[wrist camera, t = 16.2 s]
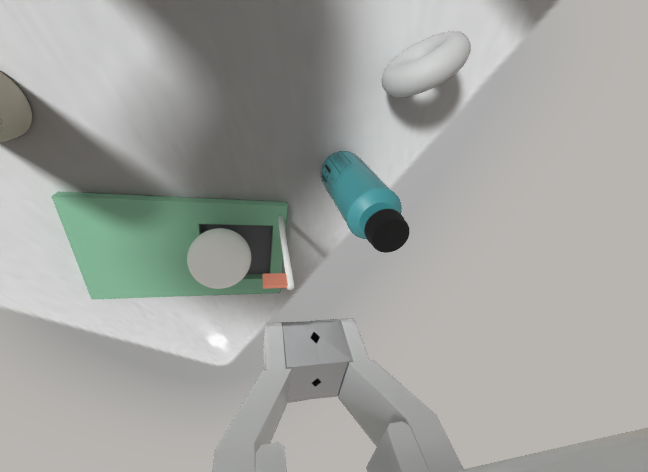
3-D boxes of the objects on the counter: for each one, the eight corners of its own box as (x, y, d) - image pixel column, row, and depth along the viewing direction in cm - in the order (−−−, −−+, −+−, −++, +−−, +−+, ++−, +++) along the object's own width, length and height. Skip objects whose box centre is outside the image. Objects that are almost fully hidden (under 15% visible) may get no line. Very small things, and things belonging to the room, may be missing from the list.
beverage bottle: (315, 150, 41) (356, 214, 24) (359, 143, 41) (427, 201, 25) (320, 190, 44) (358, 271, 28) (360, 183, 45) (420, 257, 29)
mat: (96, 292, 46) (23, 401, 32) (58, 191, 37) (-69, 279, 22) (279, 287, 53) (288, 372, 39) (286, 202, 44) (301, 273, 30)
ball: (213, 301, 36) (184, 294, 42) (268, 279, 43) (236, 276, 49) (198, 233, 35) (170, 236, 41) (256, 221, 42) (225, 225, 47)
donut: (376, 97, 38) (409, 109, 30) (366, 72, 37) (398, 77, 28) (441, 55, 37) (494, 55, 29) (435, 27, 35) (489, 19, 27)
